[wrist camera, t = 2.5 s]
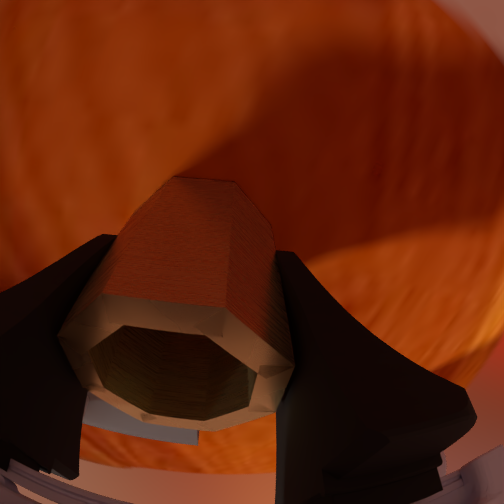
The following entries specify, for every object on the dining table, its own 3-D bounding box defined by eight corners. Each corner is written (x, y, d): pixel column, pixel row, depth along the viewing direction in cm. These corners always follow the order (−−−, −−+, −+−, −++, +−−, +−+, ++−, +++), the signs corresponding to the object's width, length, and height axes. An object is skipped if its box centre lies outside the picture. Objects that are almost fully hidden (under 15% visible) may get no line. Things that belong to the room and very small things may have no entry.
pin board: (197, 341, 14) (185, 445, 9) (199, 428, 20) (195, 492, 15) (-29, 294, 12) (-69, 352, 8) (26, 388, 18) (8, 437, 13)
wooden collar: (277, 186, 10) (315, 313, 5) (257, 300, 12) (265, 433, 7) (132, 174, 9) (36, 281, 4) (140, 288, 12) (97, 412, 7)
